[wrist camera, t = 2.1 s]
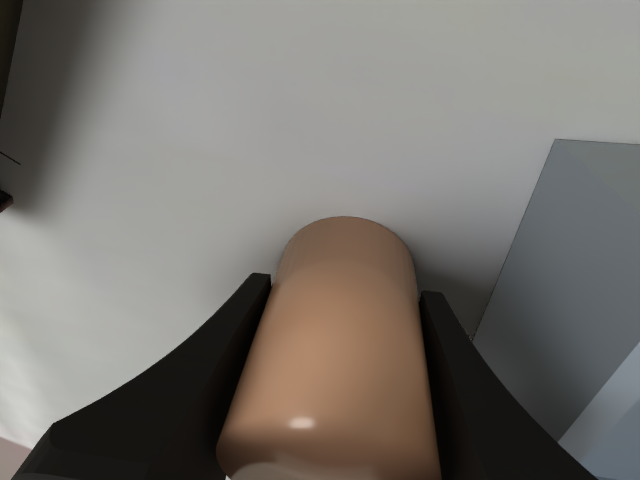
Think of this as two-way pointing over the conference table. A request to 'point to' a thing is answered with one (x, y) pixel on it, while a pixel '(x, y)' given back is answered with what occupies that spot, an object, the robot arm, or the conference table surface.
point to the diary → (7, 61)
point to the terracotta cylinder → (336, 366)
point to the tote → (575, 307)
